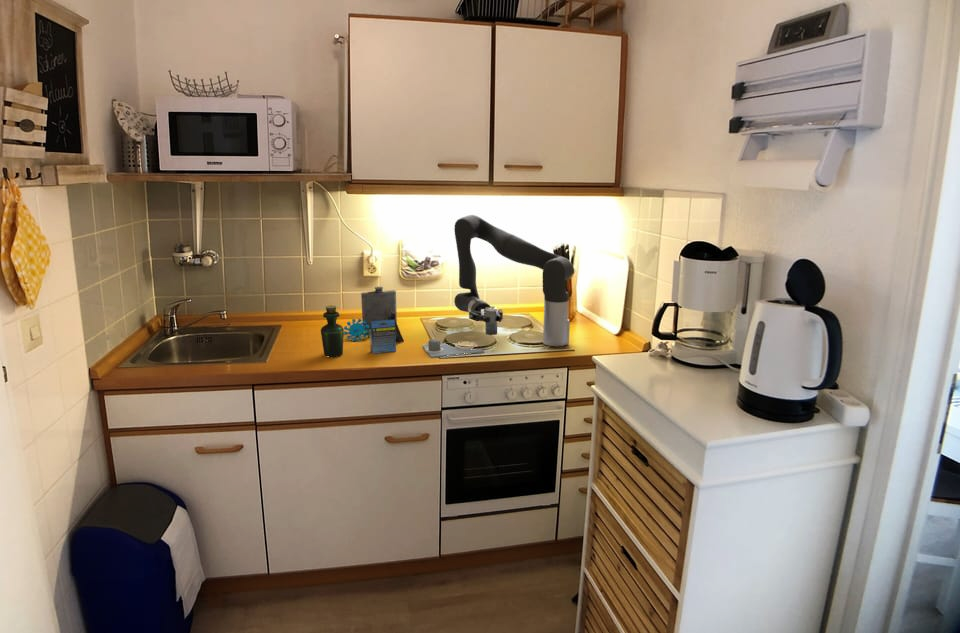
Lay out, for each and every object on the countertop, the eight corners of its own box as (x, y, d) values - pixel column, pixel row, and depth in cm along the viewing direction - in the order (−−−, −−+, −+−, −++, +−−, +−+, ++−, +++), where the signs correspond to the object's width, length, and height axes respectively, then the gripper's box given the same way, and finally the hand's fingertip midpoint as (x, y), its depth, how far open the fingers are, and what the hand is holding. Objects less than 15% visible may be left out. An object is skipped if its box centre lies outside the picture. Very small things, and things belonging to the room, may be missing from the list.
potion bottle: (348, 356, 228) (345, 307, 224) (326, 359, 224) (323, 310, 219) (340, 350, 235) (337, 303, 230) (319, 353, 231) (316, 305, 226)
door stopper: (381, 344, 242) (379, 314, 239) (377, 340, 248) (376, 310, 245) (403, 342, 245) (403, 312, 242) (400, 337, 251) (399, 308, 248)
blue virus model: (340, 337, 245) (347, 315, 250) (342, 344, 250) (350, 322, 255) (367, 342, 244) (374, 320, 249) (369, 349, 249) (376, 327, 254)
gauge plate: (472, 342, 246) (472, 331, 245) (484, 352, 233) (484, 342, 232) (421, 346, 239) (420, 336, 238) (430, 358, 227) (429, 347, 226)
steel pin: (495, 331, 242) (495, 306, 240) (499, 334, 238) (499, 308, 235) (484, 332, 241) (483, 307, 238) (487, 335, 237) (487, 309, 234)
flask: (398, 328, 264) (396, 286, 259) (363, 332, 259) (362, 289, 254) (396, 326, 267) (394, 284, 262) (362, 329, 262) (360, 287, 257)
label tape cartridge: (394, 348, 237) (393, 316, 234) (396, 351, 234) (395, 319, 231) (370, 350, 234) (369, 318, 231) (372, 354, 231) (371, 321, 228)
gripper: (462, 301, 248) (475, 311, 232) (496, 299, 252) (511, 308, 237) (462, 320, 250) (475, 331, 234) (496, 317, 254) (511, 327, 238)
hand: (493, 319), depth 235 cm, fingers closed on steel pin, 4 cm apart
